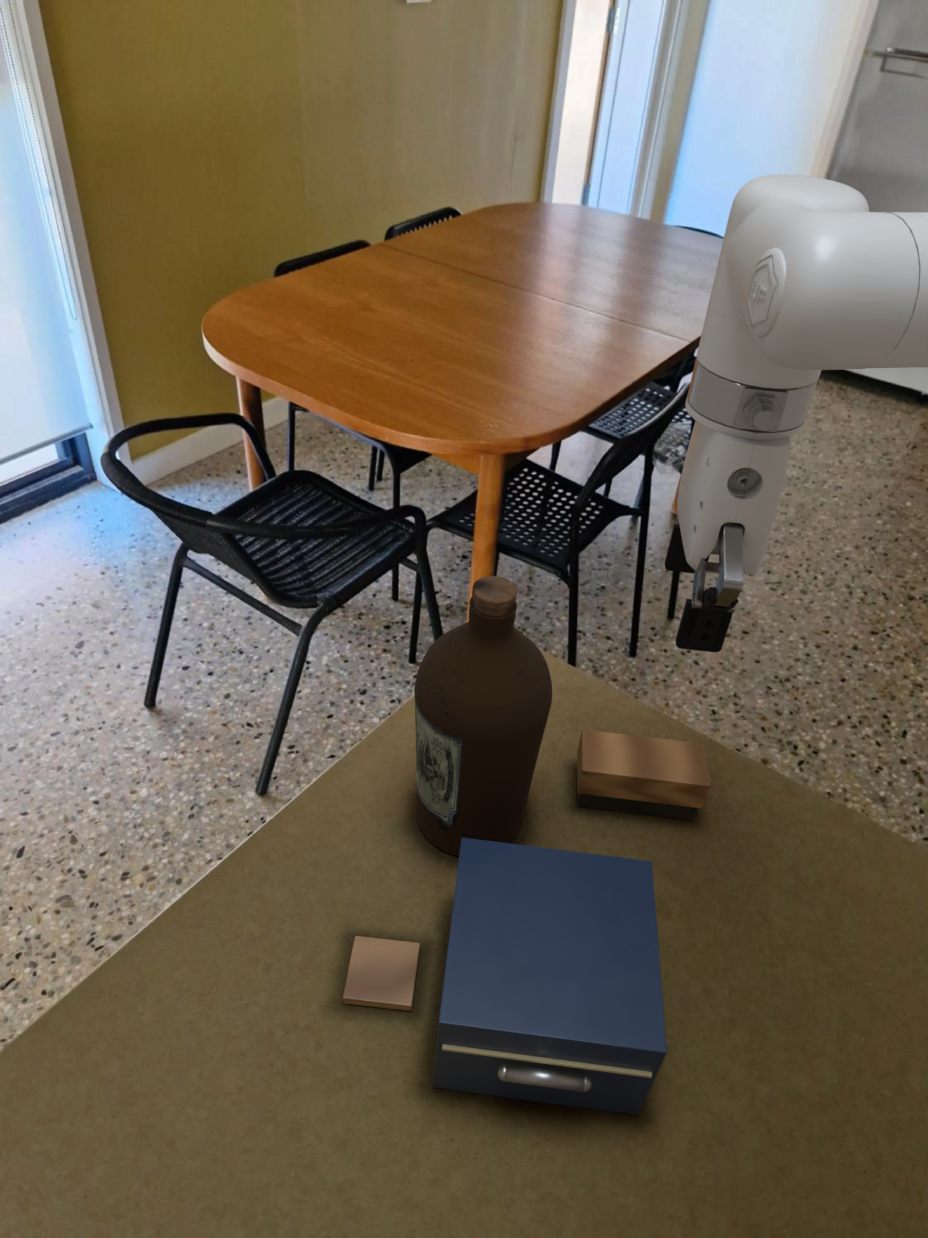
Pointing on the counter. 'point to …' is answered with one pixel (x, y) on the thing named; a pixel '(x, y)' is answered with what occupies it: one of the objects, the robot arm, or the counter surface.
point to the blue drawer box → (552, 979)
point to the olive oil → (479, 723)
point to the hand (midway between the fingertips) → (690, 607)
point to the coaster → (382, 973)
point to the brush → (641, 774)
